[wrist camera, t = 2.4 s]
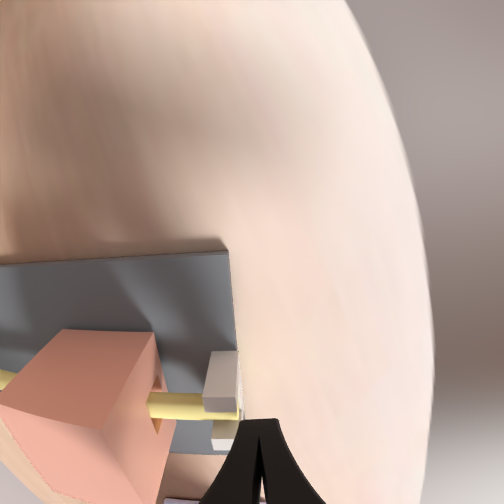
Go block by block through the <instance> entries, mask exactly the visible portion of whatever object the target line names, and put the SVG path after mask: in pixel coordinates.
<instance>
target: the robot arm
mask: <svg viewBox="0 0 504 504" xmlns="http://www.w3.org/2000/svg"><path fill="white" fill-rule="evenodd" d="M262 479H263V486H264V493H265V499H266V502H260V492H261V480H262ZM164 504H326V503H325V502H324V501H323V500H322V498H321V497H320V496H319V495H318V494H317V492H316V491H315V490H314V488H313V487H312V486H311V484H310V483H309V482H308V480H307V479H306V477H305V476H304V474H303V473H302V471H301V470H300V468H299V466H298V465H297V463H296V461H295V459H294V457H293V455H292V454H291V452H290V450H289V448H288V446H287V443H286V441H285V439H284V436H283V434H282V431H281V428H280V424H279V420H278V419H276V418H272V419H251V420H241V421H240V422H239V425H238V429H237V433H236V436H235V439H234V441H233V444H232V446H231V449H230V451H229V453H228V455H227V457H226V460H225V462H224V464H223V466H222V468H221V469H220V471H219V473H218V475H217V476H216V478H215V480H214V481H213V483H212V485H211V486H210V488H209V489H208V491H207V492H206V493H205V495H204V496H203V498H202V499H201V500H200V501H191V500H179V499H170V498H167V499H165V500H164Z"/></svg>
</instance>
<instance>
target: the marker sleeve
mask: <svg viewBox="0 0 504 504" xmlns="http://www.w3.org/2000/svg"><path fill="white" fill-rule="evenodd" d="M150 392H168V390H167V386H166V382H165V378H164V374H163V370H162V366H161V362H160V358H159V354H158V349H157V345H156V341H155V336H154V332H122V331H92V330H72V329H62V330H61V331H60V332H59V333H58V334H57V335H56V336H55V337H54V338H53V339H52V340H51V341H50V342H49V343H48V344H47V345H46V346H45V347H43V348H42V349H41V350H40V351H39V352H38V353H37V354H36V355H35V356H34V357H33V358H32V359H31V361H30V362H29V363H28V364H27V365H26V366H25V367H24V368H23V369H22V370H21V371H20V372H19V373H18V374H17V375H16V376H15V377H14V378H13V379H12V380H11V381H10V382H9V383H8V384H7V385H6V387H5V388H4V389H3V390H2V391H1V392H0V417H1V418H2V420H3V422H4V423H5V425H6V427H7V428H8V430H9V432H10V433H11V435H12V436H13V438H14V439H15V441H16V442H17V444H18V445H19V447H20V448H21V450H22V451H23V453H24V454H25V455H26V457H27V458H28V460H29V461H30V462H31V464H32V465H33V466H34V468H35V469H36V470H37V472H38V473H39V474H40V475H41V477H42V478H43V479H44V481H45V482H46V483H47V484H48V485H49V487H50V488H51V489H52V490H53V491H55V492H57V493H60V494H63V495H66V496H69V497H72V498H75V499H79V500H82V501H85V502H89V503H92V504H156V500H157V496H158V492H159V488H160V484H161V480H162V476H163V472H164V468H165V464H166V461H167V457H168V453H169V449H170V445H171V442H172V438H173V434H174V430H175V427H176V423H177V422H176V419H163V418H151V417H150V414H149V411H148V408H147V406H146V401H147V398H148V396H149V393H150Z"/></svg>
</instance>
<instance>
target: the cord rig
mask: <svg viewBox="0 0 504 504" xmlns="http://www.w3.org/2000/svg"><path fill="white" fill-rule="evenodd" d="M62 329H72V330H92V331H122V332H154V336H155V341H156V345H157V349H158V354H159V358H160V362H161V366H162V370H163V374H164V378H165V382H166V386H167V390H168V392H150V393H149V396H148V398H147V401H146V406H147V408H148V411H149V414H150V417H151V418H163V419H176V422H177V423H176V427H175V430H174V434H173V438H172V442H171V445H170V449H169V453H183V454H203V455H228V453H229V451H230V449H231V446H232V444H233V441H234V439H235V436H236V433H237V429H238V425H239V422H240V421H241V420H245V417H244V400H243V390H242V381H241V371H240V361H239V351H237V341H236V330H235V320H234V309H233V298H232V287H231V275H230V264H229V252H228V251H213V252H197V253H180V254H163V255H147V256H130V257H114V258H98V259H82V260H66V261H50V262H34V263H19V264H3V265H0V392H1V391H2V390H3V389H4V388H5V387H6V385H7V384H8V383H9V382H10V381H11V380H12V379H13V378H14V377H15V376H16V375H17V374H18V373H19V372H20V371H21V370H22V369H23V368H24V367H25V366H26V365H27V364H28V363H29V362H30V361H31V359H32V358H33V357H34V356H35V355H36V354H37V353H38V352H39V351H40V350H41V349H42V348H43V347H45V346H46V345H47V344H48V343H49V342H50V341H51V340H52V339H53V338H54V337H55V336H56V335H57V334H58V333H59V332H60V331H61V330H62Z"/></svg>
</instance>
